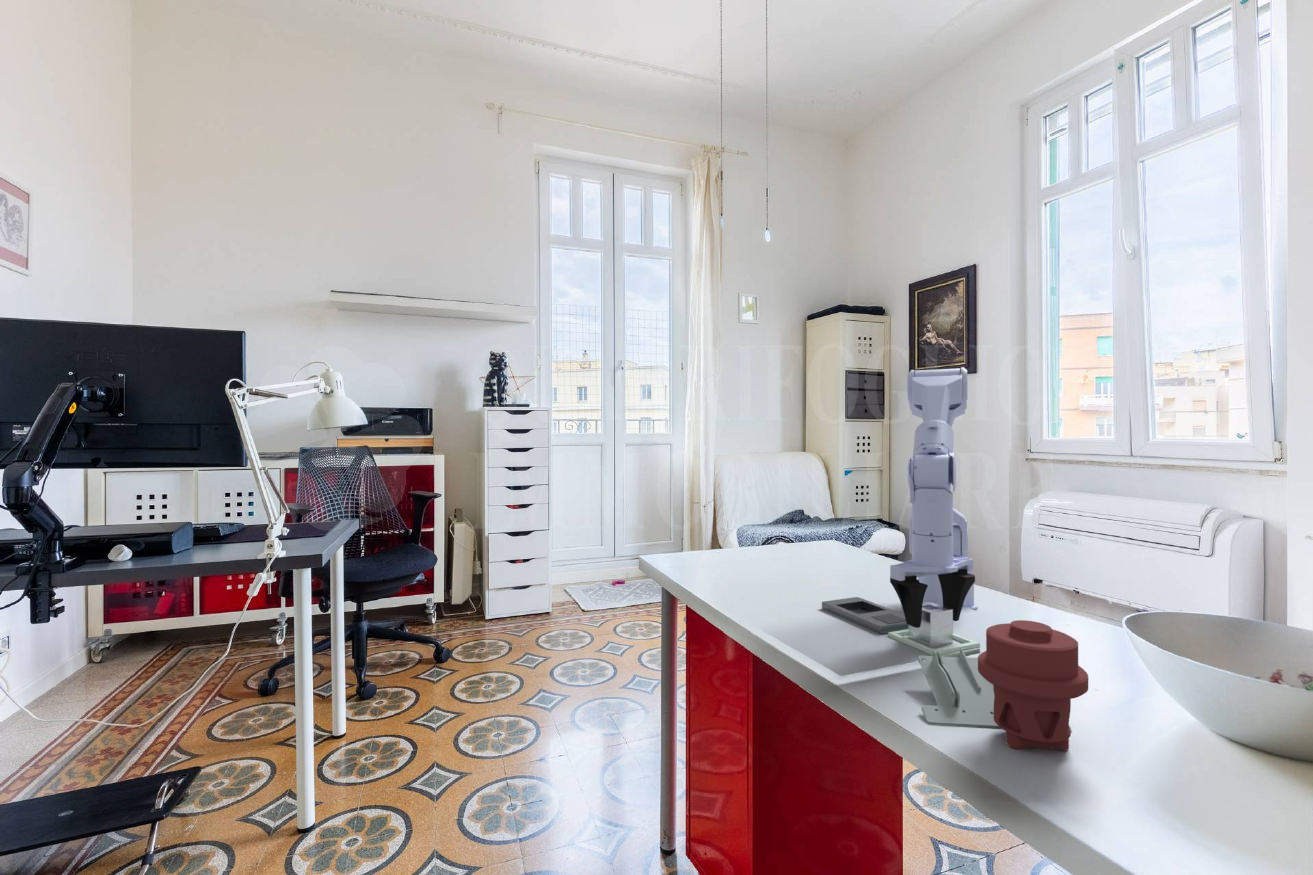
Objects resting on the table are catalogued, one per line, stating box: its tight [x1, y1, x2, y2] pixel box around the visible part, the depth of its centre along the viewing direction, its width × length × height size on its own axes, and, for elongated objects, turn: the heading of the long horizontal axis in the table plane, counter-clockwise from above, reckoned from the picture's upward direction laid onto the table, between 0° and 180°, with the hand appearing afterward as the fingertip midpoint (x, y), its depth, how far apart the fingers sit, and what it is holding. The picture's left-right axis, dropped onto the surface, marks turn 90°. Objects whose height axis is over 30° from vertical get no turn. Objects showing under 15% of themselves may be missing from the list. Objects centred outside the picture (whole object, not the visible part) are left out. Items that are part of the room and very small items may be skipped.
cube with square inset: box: [907, 602, 954, 648], centre depth 93 cm, size 4×4×6 cm
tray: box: [887, 629, 981, 657], centre depth 92 cm, size 9×9×2 cm
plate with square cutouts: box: [821, 596, 908, 635], centre depth 104 cm, size 8×15×2 cm, turn 22°
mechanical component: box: [977, 619, 1089, 752], centre depth 65 cm, size 12×10×10 cm
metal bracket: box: [917, 648, 1073, 734], centre depth 74 cm, size 14×6×15 cm
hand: (932, 622), depth 92 cm, fingers open, 7 cm apart
